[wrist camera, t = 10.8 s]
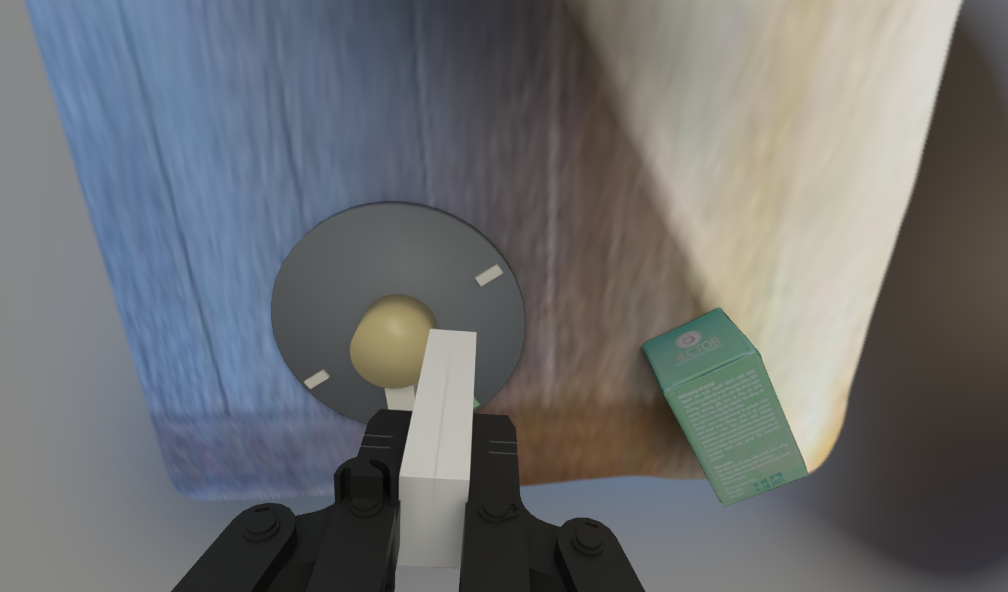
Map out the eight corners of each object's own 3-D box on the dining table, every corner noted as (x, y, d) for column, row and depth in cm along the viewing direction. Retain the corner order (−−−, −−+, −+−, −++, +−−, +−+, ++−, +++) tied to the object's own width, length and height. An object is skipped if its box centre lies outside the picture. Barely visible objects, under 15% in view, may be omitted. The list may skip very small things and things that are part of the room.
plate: (222, 289, 43) (214, 297, 42) (429, 148, 39) (427, 152, 37) (380, 454, 50) (377, 466, 49) (568, 351, 46) (571, 360, 45)
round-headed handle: (355, 296, 42) (343, 320, 39) (433, 291, 42) (427, 315, 39) (381, 433, 48) (372, 466, 44) (450, 429, 48) (446, 461, 44)
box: (718, 301, 45) (759, 348, 38) (769, 416, 50) (813, 476, 43) (636, 340, 46) (661, 392, 39) (694, 448, 51) (724, 511, 44)
